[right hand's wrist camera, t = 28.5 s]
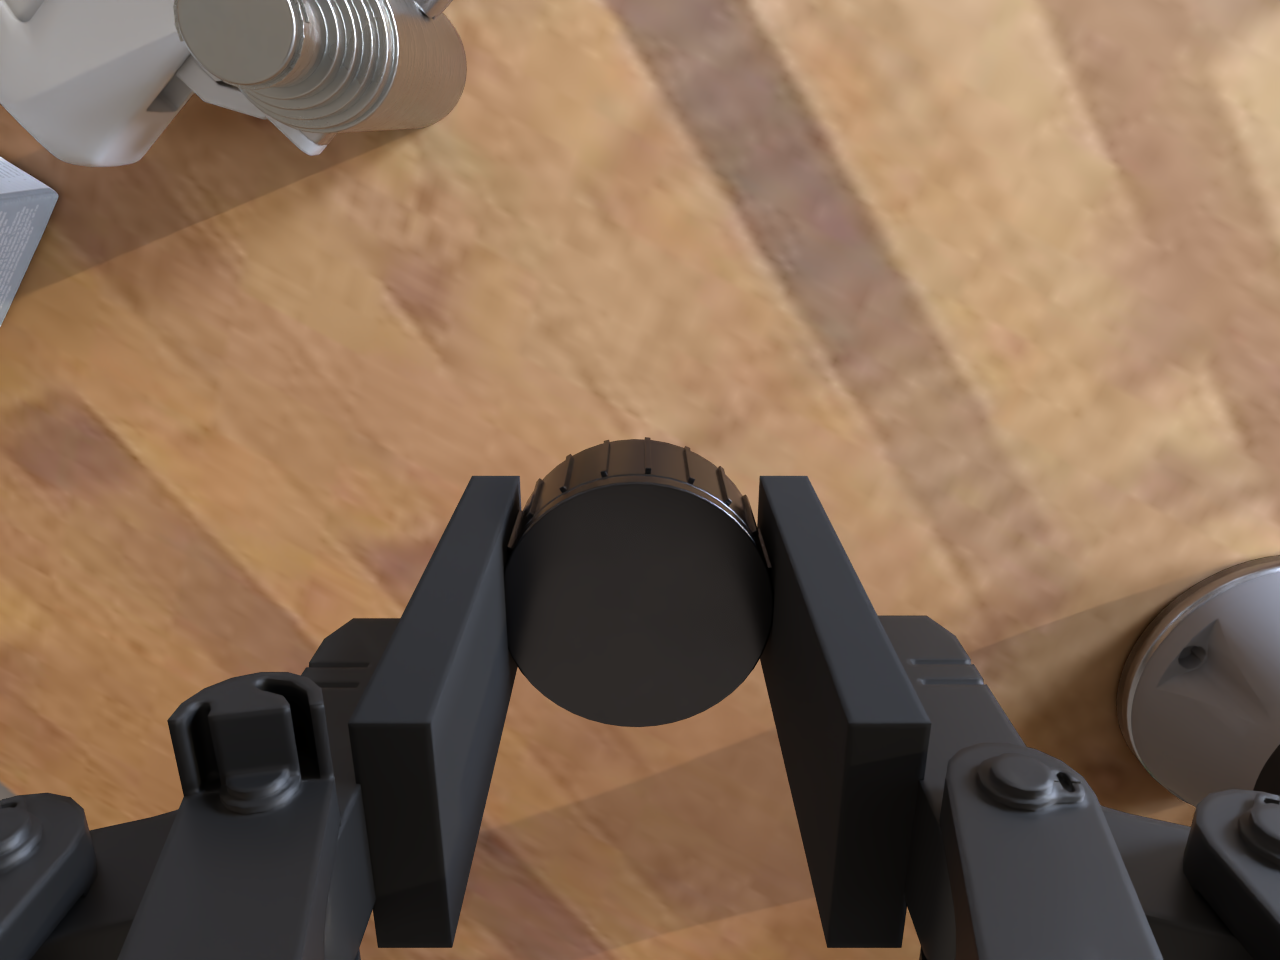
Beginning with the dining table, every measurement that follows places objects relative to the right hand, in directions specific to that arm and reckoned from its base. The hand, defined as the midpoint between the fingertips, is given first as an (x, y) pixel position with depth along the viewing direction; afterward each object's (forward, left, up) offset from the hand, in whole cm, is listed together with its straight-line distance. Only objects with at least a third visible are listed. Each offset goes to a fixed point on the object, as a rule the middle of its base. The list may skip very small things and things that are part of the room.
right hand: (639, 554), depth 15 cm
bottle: (+6, -11, -28) cm, 31 cm away
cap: (0, 0, +2) cm, 2 cm away
